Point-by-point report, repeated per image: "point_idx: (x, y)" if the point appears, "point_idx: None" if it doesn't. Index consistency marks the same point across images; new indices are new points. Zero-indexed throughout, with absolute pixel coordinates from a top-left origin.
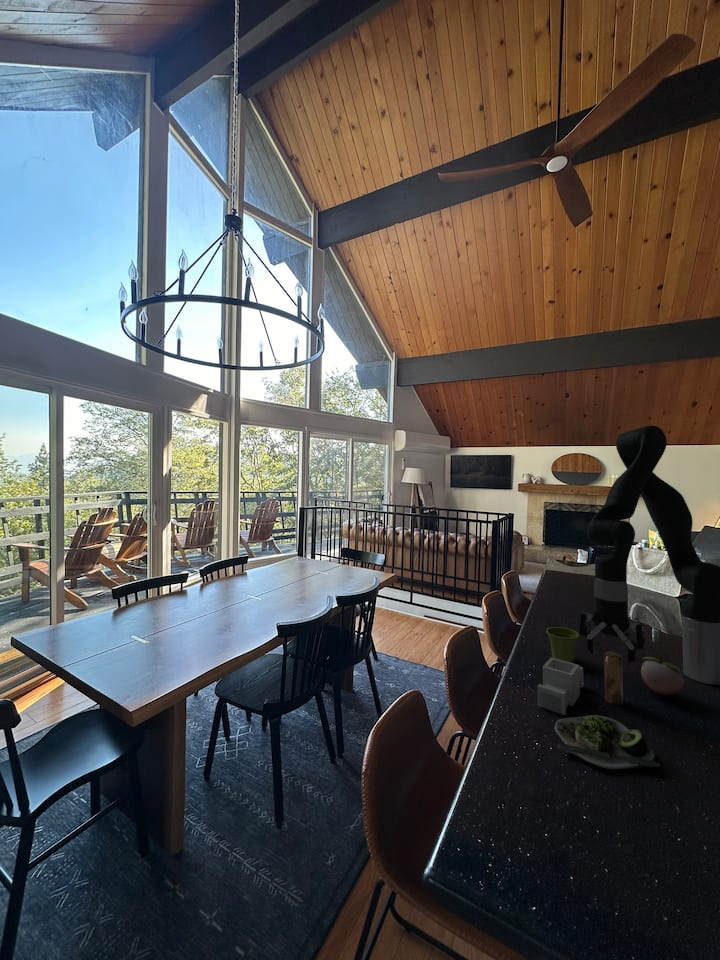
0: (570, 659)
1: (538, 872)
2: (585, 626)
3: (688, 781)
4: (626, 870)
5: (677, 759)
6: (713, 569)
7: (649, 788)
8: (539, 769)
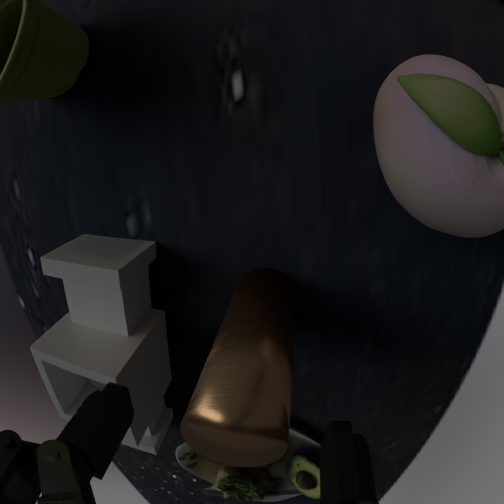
0: (73, 73)
1: None
2: (2, 481)
3: (383, 470)
4: None
5: (385, 444)
6: None
7: None
8: (200, 501)
